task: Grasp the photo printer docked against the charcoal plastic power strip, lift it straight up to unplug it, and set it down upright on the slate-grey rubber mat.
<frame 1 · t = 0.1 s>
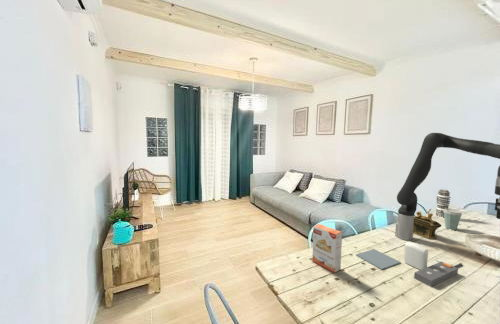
power strip: (436, 276, 108), on the table
decorative box: (421, 234, 158), on the table
photo printer: (414, 266, 116), on the table
disposable coffee cup: (450, 229, 167), on the table
rubber mat: (377, 259, 123), on the table
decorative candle: (441, 217, 193), on the table
cracker box: (325, 265, 117), on the table
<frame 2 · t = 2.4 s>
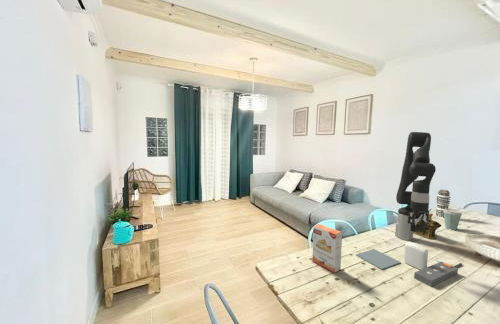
hand: (417, 230, 115), 20 cm above the table, fingers open, 8 cm apart
nothing on the table moved.
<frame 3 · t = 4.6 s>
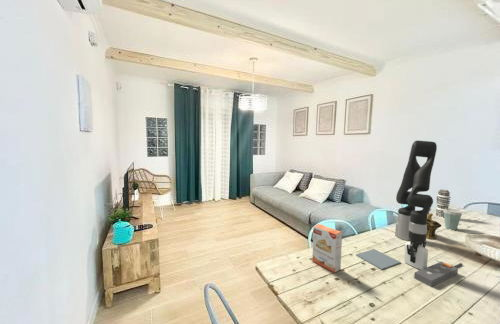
hand: (415, 261, 116), 3 cm above the table, fingers closed on photo printer, 4 cm apart
photo printer: (414, 266, 116), on the table, touching gripper
everything else where it was.
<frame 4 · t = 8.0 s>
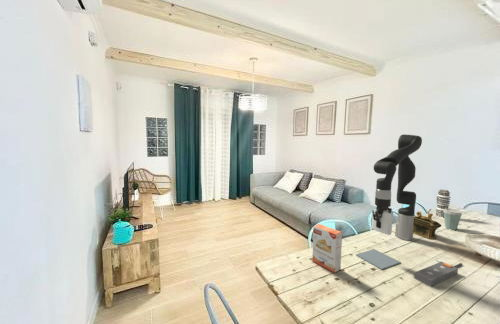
hand: (381, 226, 121), 19 cm above the table, fingers closed on photo printer, 4 cm apart
photo printer: (381, 232, 121), point 16 cm above the table, touching gripper
everything else where it was.
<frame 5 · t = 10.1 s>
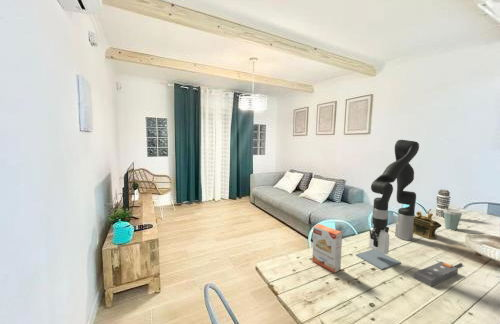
hand: (378, 245, 122), 8 cm above the table, fingers closed on photo printer, 4 cm apart
photo printer: (378, 250, 123), point 5 cm above the table, touching gripper
everything else where it was.
when the fingers open (5 cm above the table, at t = 11.7 s): photo printer drops 1 cm, resting on rubber mat.
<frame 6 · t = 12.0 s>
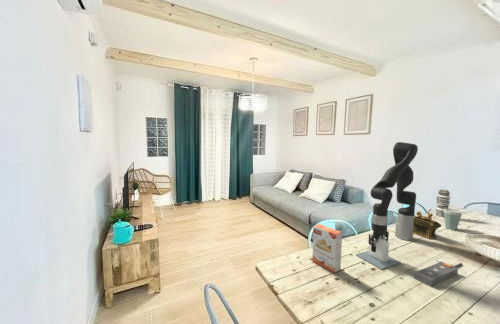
hand: (378, 250, 123), 5 cm above the table, fingers open, 7 cm apart
photo printer: (377, 258, 123), resting on rubber mat
everything else where it was.
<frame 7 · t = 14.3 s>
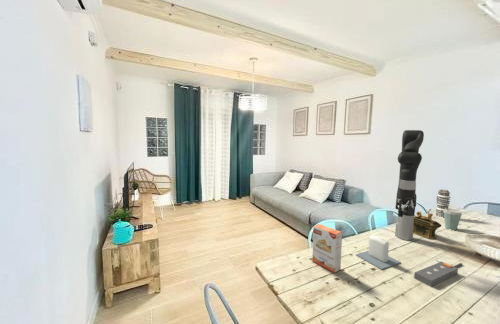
hand: (405, 215, 122), 25 cm above the table, fingers open, 8 cm apart
nothing on the table moved.
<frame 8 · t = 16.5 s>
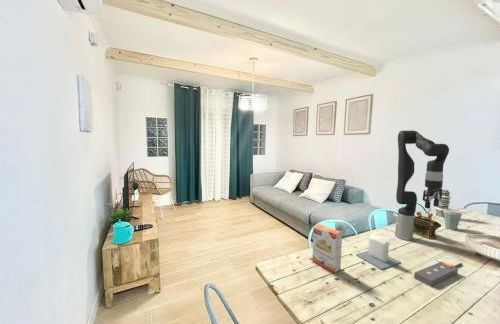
hand: (431, 207, 122), 30 cm above the table, fingers open, 8 cm apart
nothing on the table moved.
at the end: photo printer inside the target area on the rubber mat (0.3 cm from its centre), point 0.4 cm above the rubber mat's base; photo printer tilted 0°; the gripper is holding nothing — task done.
